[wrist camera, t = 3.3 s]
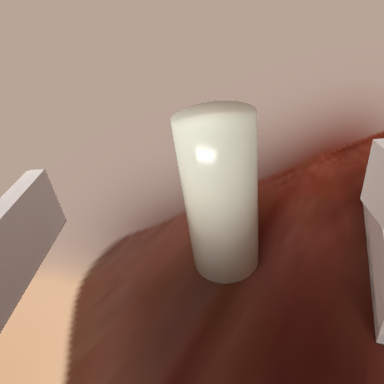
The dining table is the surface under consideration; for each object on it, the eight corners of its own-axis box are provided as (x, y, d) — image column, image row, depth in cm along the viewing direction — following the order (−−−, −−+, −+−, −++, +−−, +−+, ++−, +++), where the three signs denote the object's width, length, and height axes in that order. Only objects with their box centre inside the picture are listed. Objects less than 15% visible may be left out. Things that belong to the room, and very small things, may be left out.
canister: (264, 242, 30) (264, 100, 23) (250, 290, 26) (245, 133, 18) (206, 232, 33) (189, 101, 25) (184, 275, 28) (155, 130, 20)
